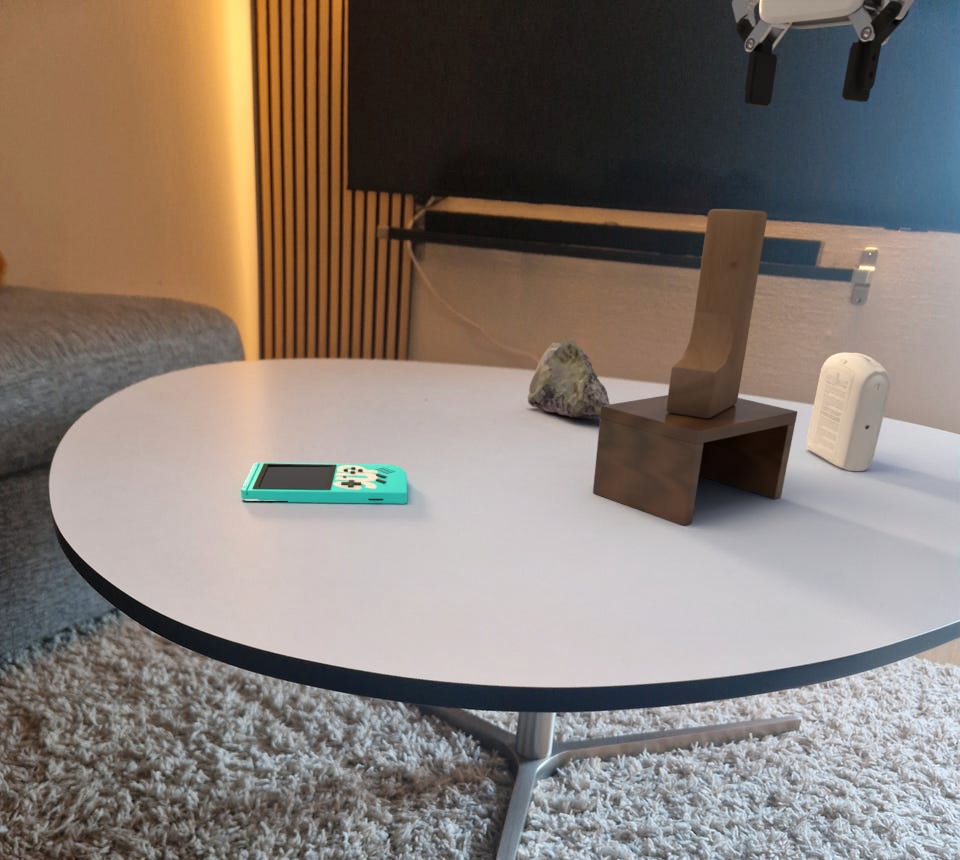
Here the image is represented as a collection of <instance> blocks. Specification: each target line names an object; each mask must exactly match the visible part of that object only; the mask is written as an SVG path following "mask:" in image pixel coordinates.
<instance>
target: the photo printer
mask: <svg viewBox="0 0 960 860" xmlns="http://www.w3.org/2000/svg"><path fill="white" fill-rule="evenodd" d="M891 384H892V383H891V376H890V375H889V373H888V371H887V370H886V369H885V368H884V366H882V364H880V362H878V361H877V360H875V359H874V358H873V357H870V356H868V355H866V354H864V353H860V352H838V353H834V354H832V355H830V356H829V357H828V358H827V359H826V360H825V361H824V363H823V365H822V367H821V368H820V373H819V378H818V383H817V388H816V392H815V396H814V397H815V398H814V403H813V408H812V412H811V416H810V417H811V418H810V421H809V426H808V431H807V436H806V441H805V447H806V449H807V450H809V451H810V452H812V453H814V454H815V455H817V456H819V457H821V458H822V459H824V460H826V461H828V462H829V463H830V464H833V465H835V466H837V467H839V468H841V469H843V470H845V471H848V472H864V471H867V470H868V469H870V468H871V466H872V463H873V460H874V457H875V452H876V449H877V445H878V440H879V436H880V432H881V428H882V425H883V424H882V423H883V420H884V416H885V412H886V407H887V403H888V399H889V395H890V391H891Z"/></svg>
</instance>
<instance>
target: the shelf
mask: <svg viewBox="0 0 960 860" xmlns="http://www.w3.org/2000/svg"><path fill="white" fill-rule="evenodd" d="M667 400H668V394H667V395H666V394H665V395H660V396H654V397H647V398H642V399H636V400H629V401H628V400H627V401H623V402H616V403H610V404H609V405H603V406H601V415H600V418H599V426H598V436H597V446H596V456H595V457H596V458H595V468H594V478H593V488H592V493H593V494H594V495H598V496H600V497H603V498H605V499H609V500H612V501H614V502H617V503H620V504H623V505H625V506H628V507H631V508H633V509H637V510H639V511H642V512H645V513H647V514H650V515H652V516H656V517H657V518H661V519H664V520H667V521H670V522H672V523H674V524H675V523H676V524H678V525H681V526H687V525H690V524H692V523H693V518H694V511H695V503H696V497H697V490H698V484H699V477H702V478H704V479H708V478H709V479H708V480H711V481H715V482H718V483H722V484H724V483H725V484H724V485H728V486H731V487H734V488H737V489H740V490H744V491H747V492H750V493H753V494H758V495H760V496H764V497H766V498H770V499H773V500H776V499H780V498H781V497H782V494H783V489H784V483H785V477H786V473H787V468H788V463H789V457H790V452H791V447H792V442H793V436H794V432H795V427H796V422H797V416H798V411H797V410H793V409H790V408H789V409H788V408H785V407H780V406H776V405H772V404H766V403H763V402H758V401H754V400H750V399H745V398H741V397H738V400H737V403H736V404H735V405H733V406H731V407H729V408H727V409H725V410H723V411H722V412H720V413H718V414H716V415H714V416H712V417H711V418H708V419H704V418H698V417H692V416H685V415H679V414H673V413H669V412H667V409H666V407H667Z"/></svg>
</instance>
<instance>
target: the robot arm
mask: <svg viewBox="0 0 960 860" xmlns="http://www.w3.org/2000/svg"><path fill="white" fill-rule="evenodd" d="M914 2H915V0H891V1H890V0H732V1H731V7H732V11H733V16H734V21H735V23H736V32H737V34H738V36H739V37H740V39H741V40H742V42H743V45H744V50H745V52H747V53H749V57H748V64H747V70H746V71H747V72H746V79H745V86H744V87H745V88H744V90H745V95H744V103H745V105H753V106H761V107H768V106H769V105H770V104H771V103H772V98H773V92H774V85H775V78H776V72H777V71H776V70H777V64H778V56H777V54H774V53H773V51H774V49H775V48H776V46H777V45H778V44H779V43H780V41H781V39H782V38H783V37H784V36H785V34H786V33H787V31H788V30H789V29H793V30H807V29H818V28H826V27H827V28H828V27H837V26H839V27H840V26H846V25H852V27H853V30H854V31H855V33H856V34H857V36H858V41H856V42H855V41H854V42H852V43H851V46H850V48H849V54H848V60H847V65H846V66H847V67H846V70H845V71H846V72H845V76H844V83H843V87H842V94H841V96H842V99H844V100H845V101H851V102H858V103H859V102H860V103H865V102H868V101H869V98H870V94H871V90H872V89H873V87H874V85H875V82H876V81H875V80H876V76H877V72H878V71H877V70H878V65H879V61H880V56H881V49H882V47H883V46H885V45H886V44H888V42H889V40H890V38H891V35H892V34H893V32H894V31H895V30H896V29H897V28H898V27H899V26H900V25H901V24H902V23H903V21H905V20H906V18H907V17H908V14H909V12H910V7H911V6H912V5H913V4H914ZM758 4H759V5H758ZM757 5H758V11H759V13H758V15H759V18H760V19H759V20H758V21H757V20H756V18H755V16H756V14H755V7H756V6H757Z"/></svg>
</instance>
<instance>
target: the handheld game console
mask: <svg viewBox="0 0 960 860" xmlns="http://www.w3.org/2000/svg"><path fill="white" fill-rule="evenodd" d="M240 492H241V499H242V498H243V499H258V500H274V501H275V500H276V501H288V502H287V503H309V504H310V503H311V504H312V503H315V504H316V503H317V504H319V503H321V504H322V503H323V504H330V503H331V504H391V505H393V504H394V505H395V504H396V505H397V504H401V505H402V504H403V505H405V504H407V502H408V476H407V472H406V471H405V470H404V469H403V468H402V467H400V466H398V465H393V464H385V463H380V464H379V463H327V462H326V463H322V462H321V463H320V462H318V463H317V462H266V461H264V462H259V461H258V462H257V461H256V462H254V463H253V465H252V467H251V468H250V471H249V473H248V475H247V477H246V479H245V480H244V483H243V484H242V487H241V489H240Z"/></svg>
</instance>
